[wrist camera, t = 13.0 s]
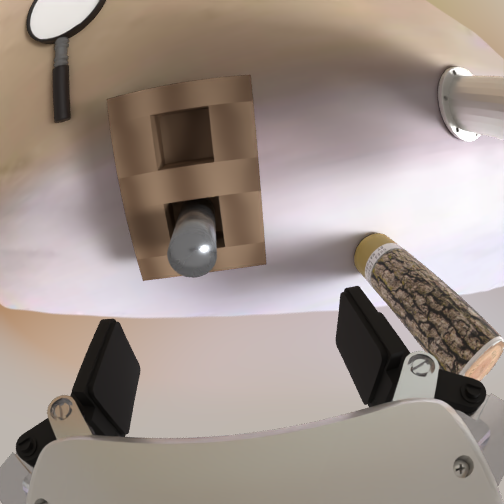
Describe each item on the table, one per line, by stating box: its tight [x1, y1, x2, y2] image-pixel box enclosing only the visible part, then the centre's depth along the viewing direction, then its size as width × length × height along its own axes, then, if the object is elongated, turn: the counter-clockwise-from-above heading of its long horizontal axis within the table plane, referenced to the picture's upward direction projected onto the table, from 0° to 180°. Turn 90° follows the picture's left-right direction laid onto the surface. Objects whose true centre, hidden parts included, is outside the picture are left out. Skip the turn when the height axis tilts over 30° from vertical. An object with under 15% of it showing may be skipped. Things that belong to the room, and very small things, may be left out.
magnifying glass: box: [27, 0, 106, 123], centre depth 21 cm, size 12×24×2 cm, turn 3°
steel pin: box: [167, 197, 217, 277], centre depth 28 cm, size 4×4×12 cm
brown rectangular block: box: [107, 75, 266, 281], centre depth 30 cm, size 14×20×6 cm
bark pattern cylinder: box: [354, 233, 504, 381], centre depth 29 cm, size 7×7×25 cm
